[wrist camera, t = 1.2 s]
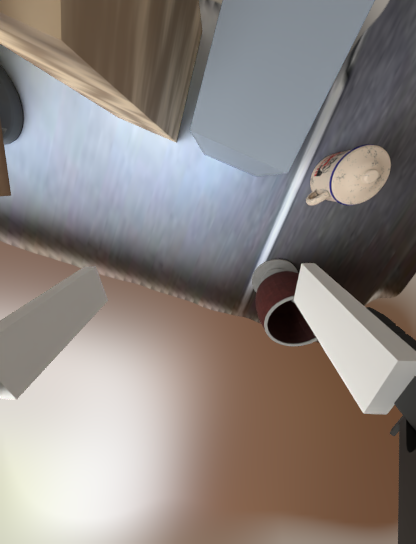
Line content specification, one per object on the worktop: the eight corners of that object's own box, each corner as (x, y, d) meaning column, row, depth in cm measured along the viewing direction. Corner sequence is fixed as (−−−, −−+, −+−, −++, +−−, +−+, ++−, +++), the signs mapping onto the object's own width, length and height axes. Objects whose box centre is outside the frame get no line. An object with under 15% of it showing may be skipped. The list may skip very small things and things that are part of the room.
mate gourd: (289, 303, 53) (324, 365, 35) (243, 295, 53) (255, 353, 35) (311, 255, 46) (370, 302, 28) (259, 245, 46) (284, 287, 28)
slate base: (203, 154, 37) (189, 130, 20) (235, 48, 30) (258, -142, 12) (256, 176, 39) (287, 173, 21) (298, 80, 32) (400, -51, 14)
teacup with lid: (344, 140, 35) (397, 123, 25) (361, 181, 38) (414, 181, 28) (288, 183, 39) (313, 184, 29) (306, 217, 42) (335, 229, 31)
